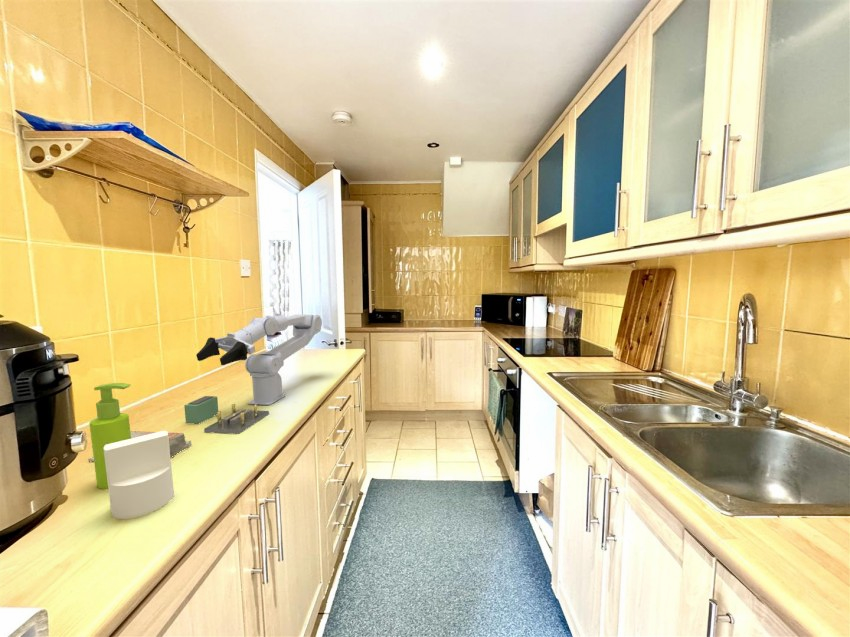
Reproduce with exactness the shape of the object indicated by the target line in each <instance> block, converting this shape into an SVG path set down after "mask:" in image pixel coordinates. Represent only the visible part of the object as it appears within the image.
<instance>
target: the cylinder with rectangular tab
mask: <svg viewBox="0 0 850 637" xmlns="http://www.w3.org/2000/svg"><path fill="white" fill-rule="evenodd" d="M155 432H156V433H152V434H148V435H144V436H140V437H135V438H131V439H127V440H123V441H119V442H115V443H111V444H107V445H105V446H104V456H105V465H106V473H107V481H108V495H109V496H108V497H109V503H110V512H111V516H112V517H113V518H115V519H118V520H129V519H135V518H139V516H140V517H143V516H146V515H148V514H147V513H149V514H151V513H153V511H154V512H156V511H157V509H158V510H159V508H160V509H161V508H163V507H165V506H166V505H167V504H169V503H170V502H171V501H172V500H173V498H174V497H175V488H174V480H173V468H172V458H170V448H169V438H168V433H169V432H168V431H167V430H161V431H155ZM171 499H172V500H171ZM170 500H171V501H170ZM169 501H170V502H169ZM168 502H169V503H168ZM165 504H166V505H165ZM164 505H165V506H164ZM162 506H163V507H162ZM155 510H156V511H155ZM150 512H151V513H150ZM145 514H146V515H145ZM142 515H143V516H142Z"/></svg>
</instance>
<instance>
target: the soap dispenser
mask: <svg viewBox="0 0 850 637" xmlns="http://www.w3.org/2000/svg"><path fill="white" fill-rule="evenodd" d="M130 386H131V384H129V383H122V382H114V383H112V382H111V383H106V384H105V383H103V384H100V385H97V386H95V387H94V389H93V390H94V391H100V400H99V401H98V402H96V404H95V407H96V418H94V419H92V420H91V421H89V423H88V424H89V431H90V439H91V440H90V441H91V446H92V447H91V448H92V457H93V456H94V462H93V464H94V471H95V478H96V479H95V481H96V487H97V488H98V489H102V490H106V489H108V481H107V473H106V465H105V456H104V446H105V445H107V444H111V443H115V442H119V441H123V440H127V439H131V433H130V431H131V427H130V418H129V413H124V412H123V413H121V410H120V402H119V399H118V398H115V397H113V390H112V389H114V390H117V389H118V390H125V389H127V388H129V387H130ZM108 490H109V489H108Z"/></svg>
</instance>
